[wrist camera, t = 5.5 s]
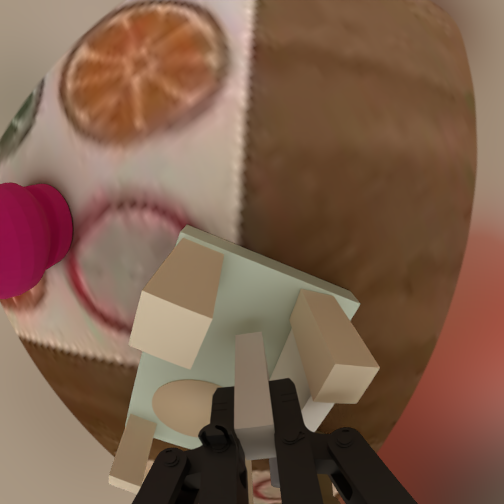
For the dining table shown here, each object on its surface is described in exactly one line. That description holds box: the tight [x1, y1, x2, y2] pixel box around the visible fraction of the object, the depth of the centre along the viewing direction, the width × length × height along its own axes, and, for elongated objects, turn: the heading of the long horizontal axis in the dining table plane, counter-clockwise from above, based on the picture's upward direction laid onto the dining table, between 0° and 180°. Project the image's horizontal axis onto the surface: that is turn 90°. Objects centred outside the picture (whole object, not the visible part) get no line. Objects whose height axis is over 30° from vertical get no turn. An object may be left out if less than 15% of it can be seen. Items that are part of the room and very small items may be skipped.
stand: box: [109, 225, 360, 504], centre depth 16 cm, size 20×12×10 cm, turn 156°
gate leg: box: [270, 289, 380, 432], centre depth 14 cm, size 8×2×7 cm, turn 165°
